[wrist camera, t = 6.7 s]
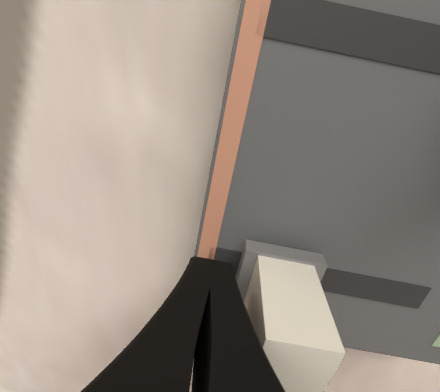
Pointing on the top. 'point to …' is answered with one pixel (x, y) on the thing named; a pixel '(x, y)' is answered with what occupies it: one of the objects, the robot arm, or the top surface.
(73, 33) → the top surface
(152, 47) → the top surface
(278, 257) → the handle
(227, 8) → the top surface
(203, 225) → the board
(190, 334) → the robot arm
